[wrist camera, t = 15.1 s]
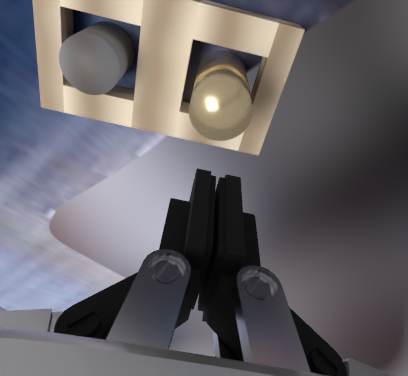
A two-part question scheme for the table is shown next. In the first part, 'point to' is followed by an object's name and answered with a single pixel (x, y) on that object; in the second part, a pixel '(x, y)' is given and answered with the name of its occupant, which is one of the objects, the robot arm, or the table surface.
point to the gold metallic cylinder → (221, 97)
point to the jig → (156, 62)
